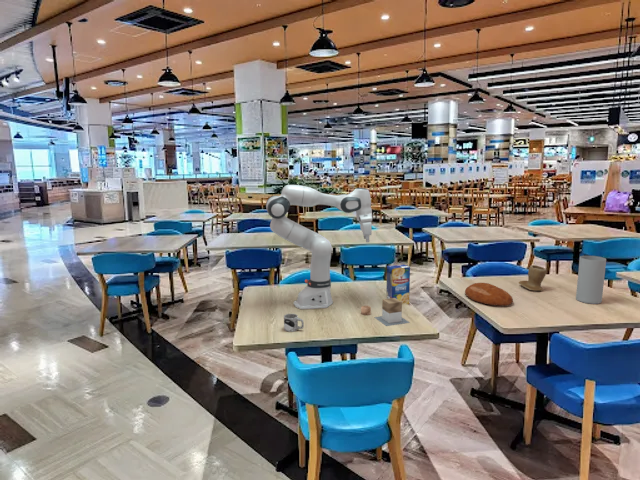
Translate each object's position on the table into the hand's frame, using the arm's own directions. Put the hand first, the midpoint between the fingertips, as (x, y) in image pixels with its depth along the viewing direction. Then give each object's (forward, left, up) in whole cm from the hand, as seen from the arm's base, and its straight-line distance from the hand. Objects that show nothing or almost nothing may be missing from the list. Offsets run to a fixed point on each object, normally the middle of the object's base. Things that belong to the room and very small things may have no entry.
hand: (366, 240), depth 238 cm
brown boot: (+108, -16, -36) cm, 115 cm away
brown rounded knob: (-11, -23, -36) cm, 44 cm away
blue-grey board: (-3, -36, -36) cm, 51 cm away
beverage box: (+14, -12, -36) cm, 40 cm away
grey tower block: (-3, -36, -34) cm, 50 cm away
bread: (+68, -22, -36) cm, 80 cm away
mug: (-51, -27, -36) cm, 68 cm away
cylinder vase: (+118, -46, -36) cm, 132 cm away
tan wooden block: (-3, -36, -29) cm, 47 cm away
